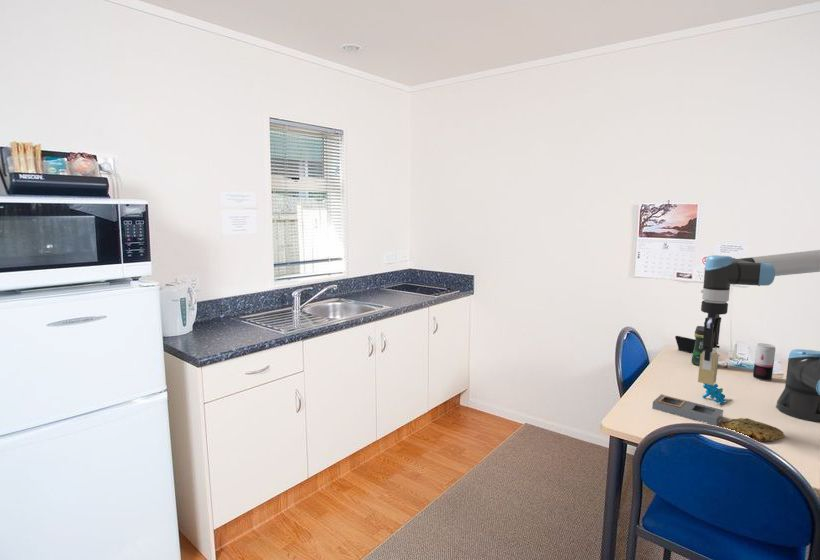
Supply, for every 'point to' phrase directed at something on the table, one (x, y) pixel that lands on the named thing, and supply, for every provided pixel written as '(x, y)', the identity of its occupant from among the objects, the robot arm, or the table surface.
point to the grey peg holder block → (688, 409)
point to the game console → (685, 344)
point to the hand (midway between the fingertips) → (708, 367)
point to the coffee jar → (698, 345)
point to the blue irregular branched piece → (714, 393)
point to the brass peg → (708, 371)
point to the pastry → (754, 429)
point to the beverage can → (764, 362)
